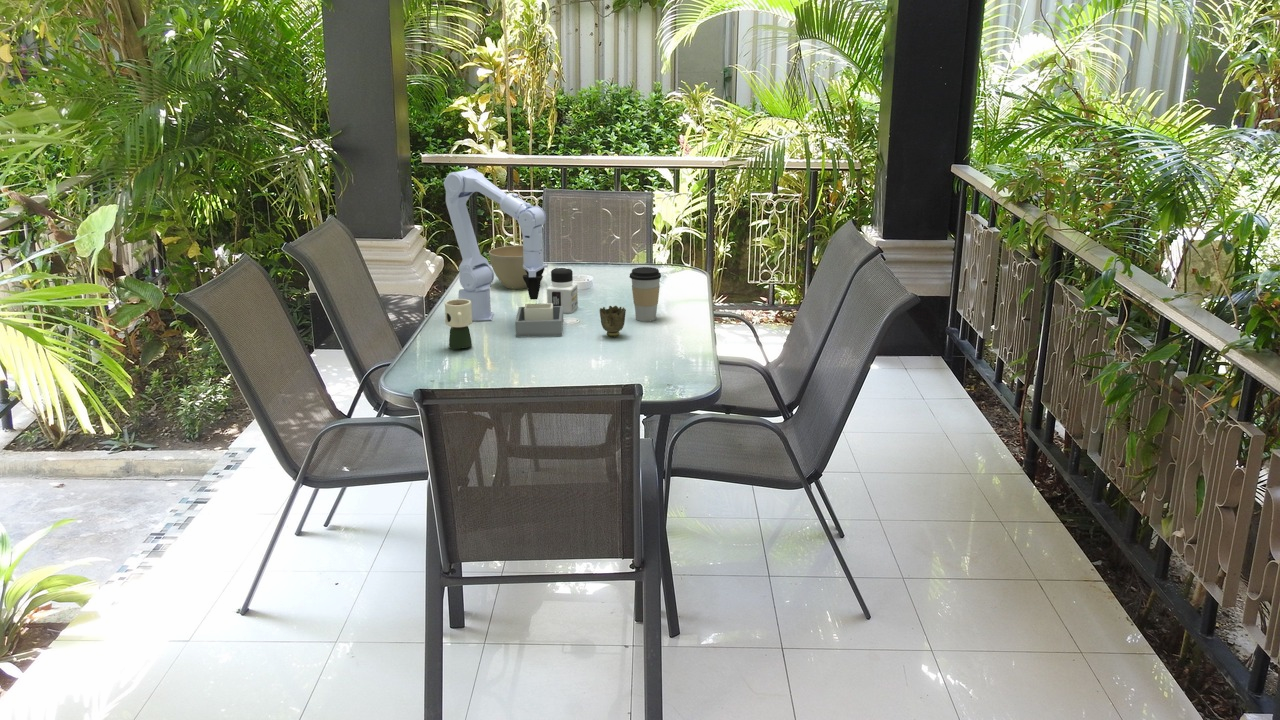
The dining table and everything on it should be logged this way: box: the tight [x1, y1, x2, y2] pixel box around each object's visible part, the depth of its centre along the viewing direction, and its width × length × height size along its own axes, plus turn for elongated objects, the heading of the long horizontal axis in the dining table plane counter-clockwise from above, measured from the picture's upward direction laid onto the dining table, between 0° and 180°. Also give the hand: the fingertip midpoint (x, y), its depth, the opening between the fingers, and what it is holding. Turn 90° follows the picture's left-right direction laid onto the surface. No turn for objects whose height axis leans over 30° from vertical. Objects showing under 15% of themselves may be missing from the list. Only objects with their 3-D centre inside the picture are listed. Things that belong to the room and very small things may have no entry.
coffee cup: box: [629, 266, 662, 323], centre depth 317 cm, size 9×9×15 cm
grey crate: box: [514, 306, 564, 338], centre depth 310 cm, size 13×16×4 cm
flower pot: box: [488, 245, 528, 290], centre depth 357 cm, size 18×18×12 cm
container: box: [546, 267, 579, 314], centre depth 328 cm, size 8×8×13 cm
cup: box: [599, 305, 627, 338], centre depth 301 cm, size 8×7×8 cm
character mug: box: [444, 298, 473, 350], centre depth 292 cm, size 11×7×13 cm, turn 13°
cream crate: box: [524, 302, 553, 321], centre depth 309 cm, size 8×5×6 cm
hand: (534, 295), depth 310 cm, fingers open, 7 cm apart
